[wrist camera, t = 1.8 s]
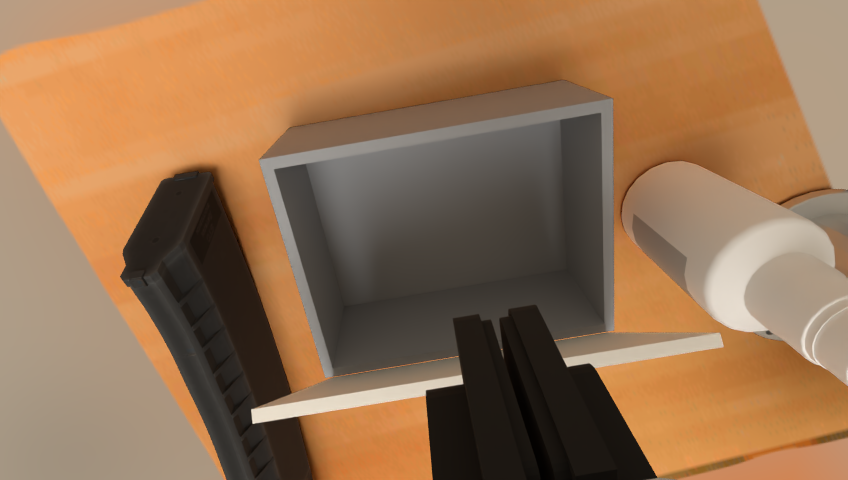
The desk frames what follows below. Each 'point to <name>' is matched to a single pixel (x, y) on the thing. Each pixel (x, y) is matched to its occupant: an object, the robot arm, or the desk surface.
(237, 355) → the magazine
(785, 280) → the spray bottle
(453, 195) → the carton
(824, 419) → the desk surface
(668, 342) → the carton flap
